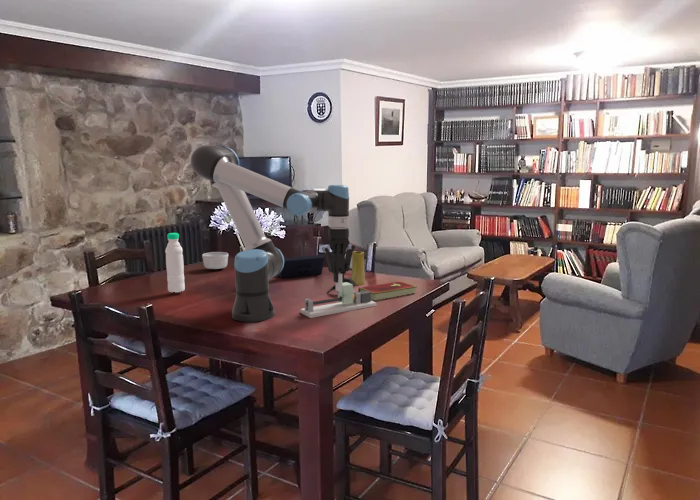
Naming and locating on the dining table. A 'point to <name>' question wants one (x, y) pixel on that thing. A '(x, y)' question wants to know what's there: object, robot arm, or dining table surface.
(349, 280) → the power plug
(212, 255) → the ramekin
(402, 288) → the hardcover book
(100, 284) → the dining table surface
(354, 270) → the vase
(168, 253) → the water bottle
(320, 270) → the storage box
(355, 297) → the linear slide rail
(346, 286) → the pale green block
